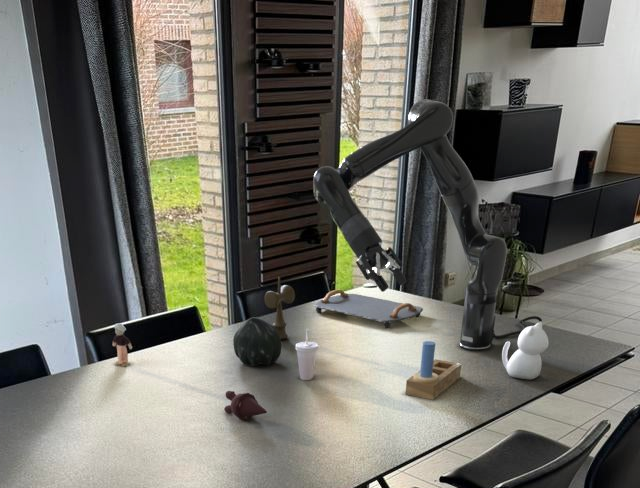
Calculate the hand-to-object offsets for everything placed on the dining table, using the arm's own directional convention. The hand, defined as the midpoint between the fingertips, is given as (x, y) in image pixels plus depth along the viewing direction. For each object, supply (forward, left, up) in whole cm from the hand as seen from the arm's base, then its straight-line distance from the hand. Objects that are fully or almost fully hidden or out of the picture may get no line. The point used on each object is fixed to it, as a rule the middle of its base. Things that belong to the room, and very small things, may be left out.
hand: (394, 286), depth 191 cm
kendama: (-4, -52, -27) cm, 59 cm away
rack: (-8, +10, -27) cm, 29 cm away
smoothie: (+14, -18, -27) cm, 35 cm away
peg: (-2, +11, -26) cm, 28 cm away
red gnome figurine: (+45, -6, -27) cm, 53 cm away
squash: (+16, -38, -27) cm, 50 cm away
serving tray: (-46, -53, -27) cm, 75 cm away
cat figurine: (-32, +21, -27) cm, 46 cm away
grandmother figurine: (+48, -64, -27) cm, 85 cm away
